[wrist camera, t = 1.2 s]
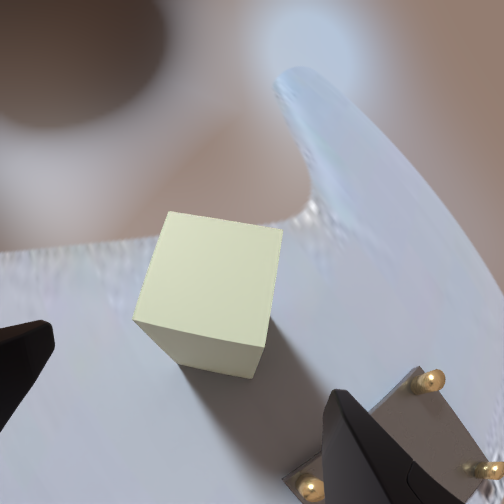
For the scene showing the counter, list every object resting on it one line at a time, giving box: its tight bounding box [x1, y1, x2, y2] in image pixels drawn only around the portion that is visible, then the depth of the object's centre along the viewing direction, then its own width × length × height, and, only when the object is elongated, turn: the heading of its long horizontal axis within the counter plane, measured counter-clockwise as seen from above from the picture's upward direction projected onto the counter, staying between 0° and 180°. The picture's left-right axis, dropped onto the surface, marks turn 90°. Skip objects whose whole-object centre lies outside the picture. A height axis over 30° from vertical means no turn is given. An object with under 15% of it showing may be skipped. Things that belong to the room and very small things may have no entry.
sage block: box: [132, 211, 283, 379], centre depth 17 cm, size 5×5×10 cm
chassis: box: [282, 366, 504, 504], centre depth 15 cm, size 12×12×3 cm
